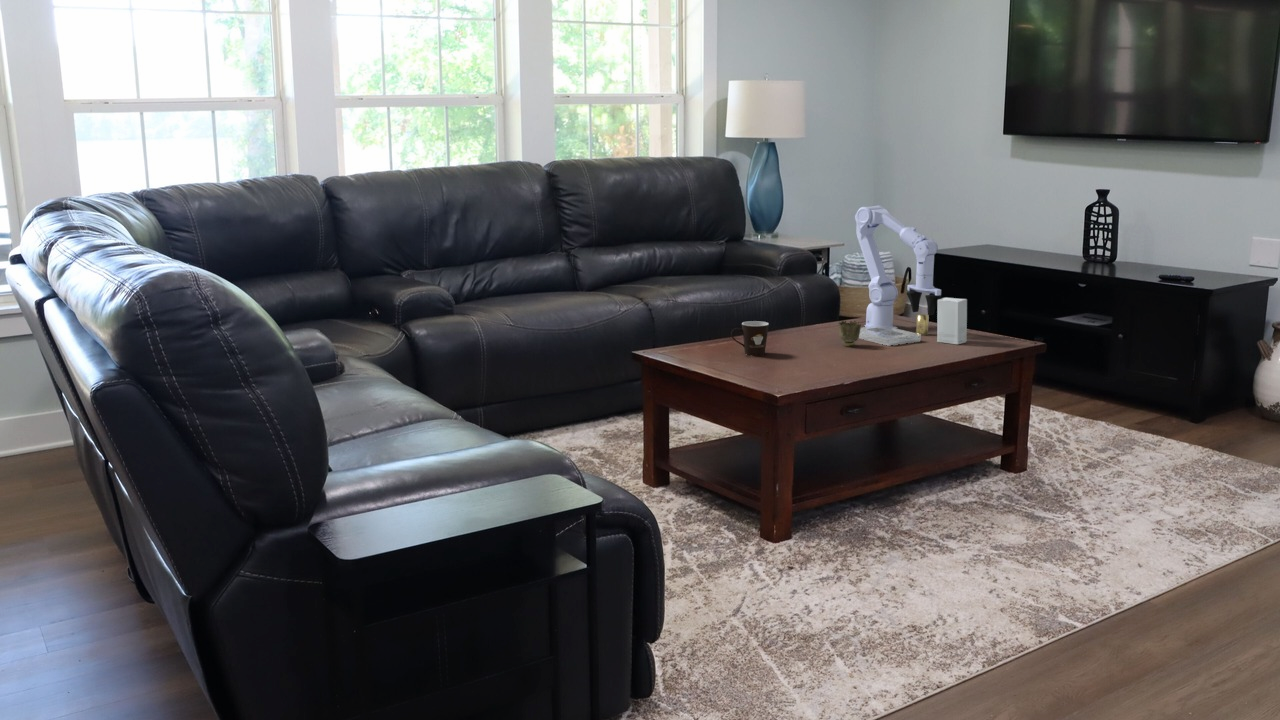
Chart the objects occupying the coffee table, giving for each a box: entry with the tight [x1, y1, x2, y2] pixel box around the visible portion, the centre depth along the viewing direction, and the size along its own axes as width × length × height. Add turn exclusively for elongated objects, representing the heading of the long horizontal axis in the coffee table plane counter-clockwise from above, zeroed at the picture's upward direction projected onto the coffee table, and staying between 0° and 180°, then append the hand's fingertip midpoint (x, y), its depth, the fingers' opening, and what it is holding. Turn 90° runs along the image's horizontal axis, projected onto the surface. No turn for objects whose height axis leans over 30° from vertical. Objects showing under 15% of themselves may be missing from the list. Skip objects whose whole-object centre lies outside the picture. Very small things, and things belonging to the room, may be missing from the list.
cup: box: [838, 320, 862, 348], centre depth 364 cm, size 8×7×8 cm
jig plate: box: [858, 325, 922, 347], centre depth 375 cm, size 20×14×2 cm
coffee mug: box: [730, 320, 769, 357], centre depth 353 cm, size 12×9×10 cm
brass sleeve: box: [915, 313, 930, 337], centre depth 381 cm, size 4×4×7 cm
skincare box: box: [936, 297, 968, 345], centre depth 367 cm, size 8×6×15 cm
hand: (923, 313), depth 380 cm, fingers open, 7 cm apart
